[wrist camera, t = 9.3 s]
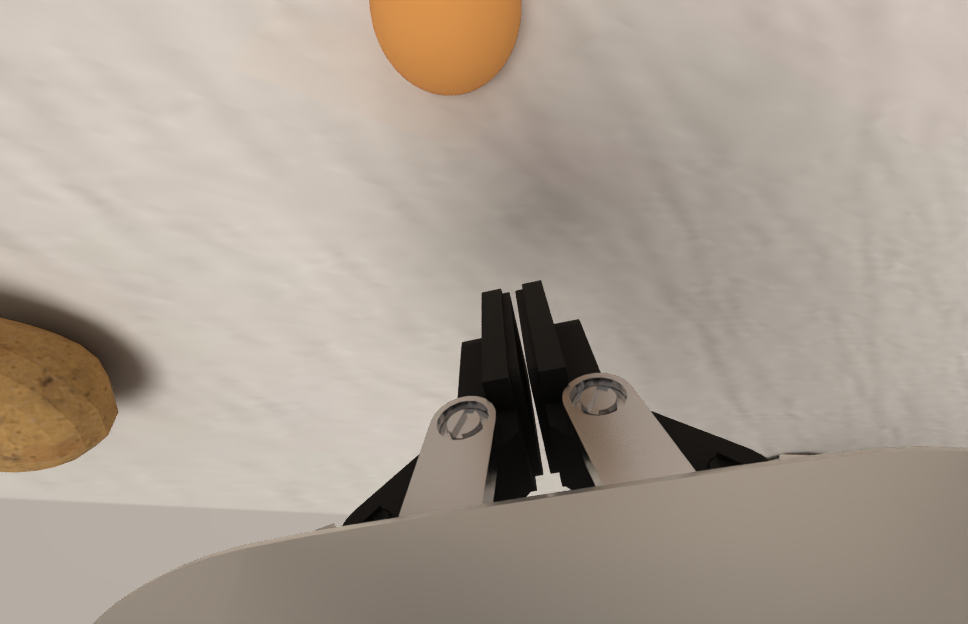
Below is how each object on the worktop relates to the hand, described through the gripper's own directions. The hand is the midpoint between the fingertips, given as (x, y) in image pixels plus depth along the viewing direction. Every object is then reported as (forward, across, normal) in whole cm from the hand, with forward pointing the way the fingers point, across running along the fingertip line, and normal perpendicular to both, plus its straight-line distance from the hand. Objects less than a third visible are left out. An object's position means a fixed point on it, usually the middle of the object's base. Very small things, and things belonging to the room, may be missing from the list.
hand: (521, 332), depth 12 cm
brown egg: (+11, 0, -9) cm, 14 cm away
